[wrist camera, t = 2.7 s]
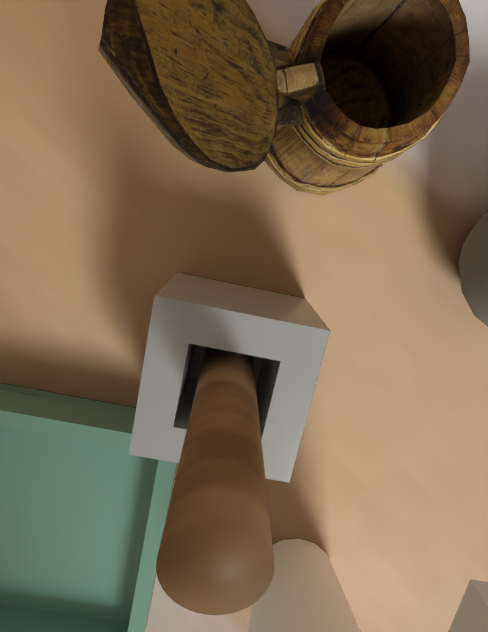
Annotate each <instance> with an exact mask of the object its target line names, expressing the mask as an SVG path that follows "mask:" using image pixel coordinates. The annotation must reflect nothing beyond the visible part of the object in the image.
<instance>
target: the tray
mask: <svg viewBox="0 0 488 632" xmlns="http://www.w3.org/2000/svg"><path fill="white" fill-rule="evenodd" d="M135 412H136V408H134V407H129V406H123V405H118V404H112V403H107V402H101V401H96V400H90V399H85V398H79V397H74V396H68V395H63V394H57V393H52V392H47V391H41V390H36V389H30V388H25V387H19V386H14V385H8V384H3V383H0V632H145V629H146V625H147V619H148V614H149V609H150V604H151V599H152V594H153V588H154V583H155V578H156V573H157V572H156V562H157V556H158V551H159V547H160V543H161V538H162V534H163V530H164V526H165V521H166V517H167V513H168V508H169V504H170V500H171V495H172V490H173V485H174V480H175V475H176V470H177V465H178V463H174V462H169V461H163V460H157V459H151V458H146V457H140V456H134V455H129V449H130V443H131V437H132V431H133V425H134V418H135Z"/></svg>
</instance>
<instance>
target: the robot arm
mask: <svg viewBox="0 0 488 632" xmlns="http://www.w3.org/2000/svg"><path fill="white" fill-rule="evenodd" d="M448 632H488V582H483V581H477V580H470V582H469V584H468V587H467V589H466V591H465V594H464V596H463V598H462V601H461V603H460V605H459V608H458V610H457V613H456V615H455V617H454V620H453V622H452V624H451V627H450V629H449V631H448Z"/></svg>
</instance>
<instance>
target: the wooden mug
mask: <svg viewBox="0 0 488 632" xmlns="http://www.w3.org/2000/svg"><path fill="white" fill-rule="evenodd" d="M98 50H99V52H100V53H101V55H102V56H103V57H104V59H105V60H106V61H107V63H108V64H109V66H110V67H111V68H112V70H113V71H114V73H115V74H116V75H117V77H118V78H119V80H120V81H121V82H122V84H123V85H124V87H125V88H126V89H127V91H128V92H129V94H130V95H131V96H132V97H133V99H134V100H135V101H136V102H137V103H138V105H139V106H140V107H141V108H142V109H143V111H144V112H145V113H146V114H147V116H148V117H149V118H150V119H151V120H152V122H153V123H154V124H155V125H156V126H157V128H158V129H159V130H160V131H161V132H162V134H163V135H164V136H165V137H166V138H167V140H168V141H169V142H170V143H171V144H172V145H173V146H174V147H175V148H176V149H178V150H179V151H180V152H182V153H183V154H184V155H185V156H187V157H188V158H189V159H191V160H192V161H194V162H196V163H199V164H201V165H203V166H205V167H209V168H213V169H217V170H220V171H224V172H237V171H247V170H254V169H255V168H256V167H258V166H259V165H260V164H261V163H262V162H263V161H264V160H265V161H266V163H267V165H268V166H269V167H270V168H271V169H272V170H273V171H274V172H275V173H276V174H277V175H278V176H279V177H280V179H282V180H283V181H284V182H286V183H287V184H289V185H290V186H291V187H293V188H294V189H295V190H298V191H303V192H308V193H314V194H319V195H324V194H328V193H331V192H335V191H338V190H341V189H344V188H346V187H349V186H352V185H355V184H357V183H359V182H360V181H362V180H364V179H365V178H367V177H369V176H370V175H372V174H374V173H375V172H376V171H377V170H378V169H379V168H380V167H381V166H382V165H383V164H384V163H385V162H388V161H390V160H393V159H394V158H396V157H397V156H399V155H400V154H402V153H403V152H405V151H406V150H408V149H409V148H411V147H412V146H414V145H415V144H416V143H418V142H419V141H421V140H422V139H424V138H425V137H426V136H427V135H428V134H429V133H430V131H431V130H432V129H433V128H434V127H435V126H436V125H437V123H438V122H439V120H440V119H441V117H442V115H443V113H444V112H445V111H446V109H447V108H448V107H449V105H450V103H451V101H452V100H453V98H454V96H455V94H456V93H457V91H458V89H459V88H460V86H461V83H462V81H463V78H464V75H465V73H466V70H467V67H468V65H469V62H470V60H469V37H468V30H467V23H466V17H465V14H464V12H463V10H462V7H461V5H460V2H459V0H323V1H322V2H321V3H320V4H319V5H318V6H317V7H316V8H315V9H314V10H313V11H312V13H311V14H310V16H309V17H308V19H307V21H306V22H305V24H304V25H303V27H302V28H301V30H300V32H299V33H298V35H297V36H296V38H295V39H294V41H293V42H292V44H291V48H290V49H288V48H287V47H285V46H282V45H280V44H277V43H274V42H271V41H268V40H266V38H265V36H264V34H263V31H262V29H261V27H260V25H259V23H258V21H257V19H256V17H255V14H254V13H253V11H252V10H251V8H250V7H249V5H248V3H247V2H246V0H107V4H106V8H105V15H104V22H103V29H102V36H101V41H100V45H99V49H98Z"/></svg>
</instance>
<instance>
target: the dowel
mask: <svg viewBox="0 0 488 632" xmlns="http://www.w3.org/2000/svg"><path fill="white" fill-rule="evenodd" d="M156 572H157V576H158V580H159V582H160V584H161V586H162V588H163V590H164V591H165V592H166V594H167V595H168V596H169V597H170V598H171V599H172V600H173V601H175V602H176V603H177V604H179V605H180V606H182V607H184V608H186V609H188V610H191V611H194V612H197V613H201V614H208V615H223V614H229V613H234V612H237V611H240V610H242V609H245V608H247V607H249V606H250V605H252V604H253V603H255V602H256V601H257V600H259V599H260V598H261V597H262V596H263V595H264V593H265V592H266V591H267V589H268V587H269V586H270V584H271V581H272V579H273V575H274V556H273V546H272V536H271V527H270V517H269V508H268V498H267V489H266V479H265V470H264V460H263V450H262V441H261V431H260V422H259V412H258V403H257V393H256V384H255V374H254V364H253V356H251V355H246V354H241V353H236V352H231V351H225V350H220V349H215V348H210V347H206V349H205V353H204V357H203V362H202V366H201V370H200V375H199V379H198V383H197V387H196V392H195V396H194V400H193V405H192V409H191V413H190V418H189V422H188V426H187V431H186V435H185V439H184V444H183V448H182V452H181V456H180V461H179V465H178V469H177V474H176V478H175V482H174V487H173V491H172V495H171V500H170V504H169V508H168V513H167V517H166V521H165V526H164V530H163V534H162V538H161V543H160V547H159V551H158V556H157V562H156Z"/></svg>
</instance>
